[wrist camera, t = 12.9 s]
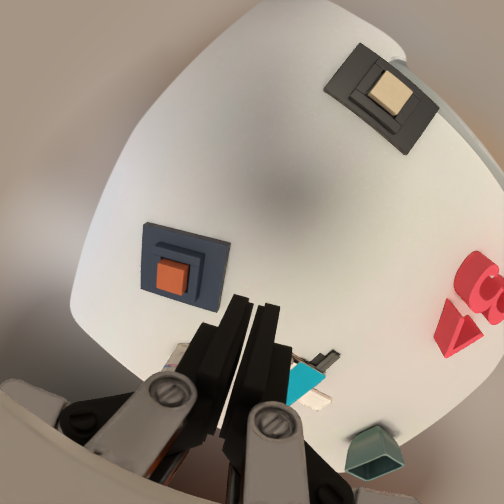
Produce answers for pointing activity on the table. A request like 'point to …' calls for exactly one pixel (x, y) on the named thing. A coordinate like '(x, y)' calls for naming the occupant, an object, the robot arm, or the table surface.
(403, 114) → the stepped dark pedestal
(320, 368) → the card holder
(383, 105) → the tan square block
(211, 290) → the stepped blue base
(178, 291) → the orange block
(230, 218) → the table surface
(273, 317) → the robot arm
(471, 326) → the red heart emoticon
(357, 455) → the flower pot
